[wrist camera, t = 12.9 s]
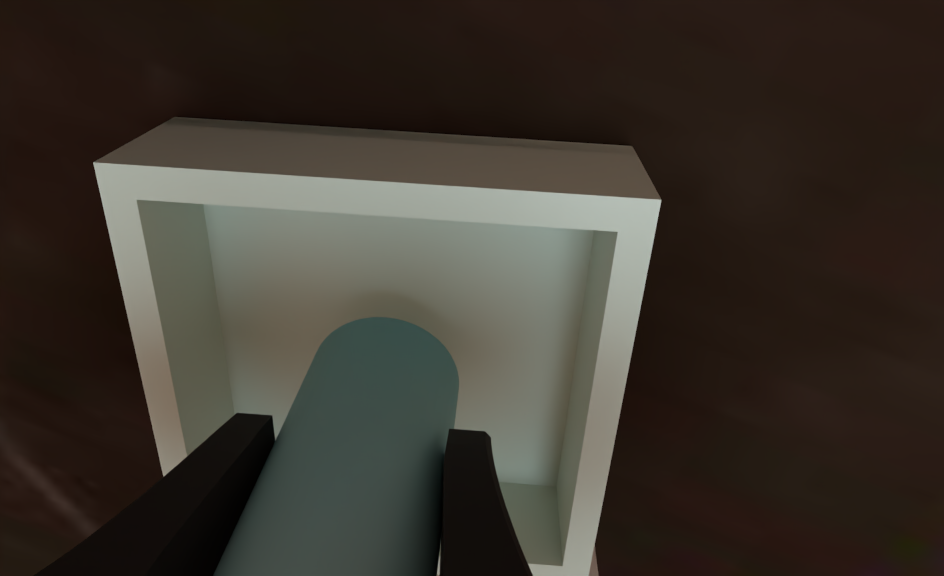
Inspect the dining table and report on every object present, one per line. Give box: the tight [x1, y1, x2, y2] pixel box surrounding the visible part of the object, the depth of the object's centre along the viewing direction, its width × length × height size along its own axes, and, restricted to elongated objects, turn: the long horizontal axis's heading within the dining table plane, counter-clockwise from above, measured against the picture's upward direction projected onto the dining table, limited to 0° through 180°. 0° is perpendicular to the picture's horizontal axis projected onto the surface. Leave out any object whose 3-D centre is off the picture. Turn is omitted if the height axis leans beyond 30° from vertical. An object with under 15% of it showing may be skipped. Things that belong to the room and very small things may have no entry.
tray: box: [93, 117, 661, 576], centre depth 14 cm, size 9×9×3 cm
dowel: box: [213, 317, 459, 576], centre depth 10 cm, size 3×3×8 cm
